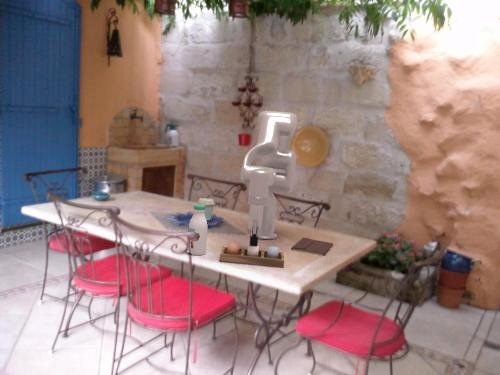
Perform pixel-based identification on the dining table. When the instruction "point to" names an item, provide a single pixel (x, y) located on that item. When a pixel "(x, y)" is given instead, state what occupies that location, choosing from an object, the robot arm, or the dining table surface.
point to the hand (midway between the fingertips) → (253, 245)
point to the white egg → (253, 251)
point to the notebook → (312, 246)
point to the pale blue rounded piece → (273, 252)
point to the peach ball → (233, 248)
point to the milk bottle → (198, 230)
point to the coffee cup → (207, 207)
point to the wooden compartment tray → (252, 258)
